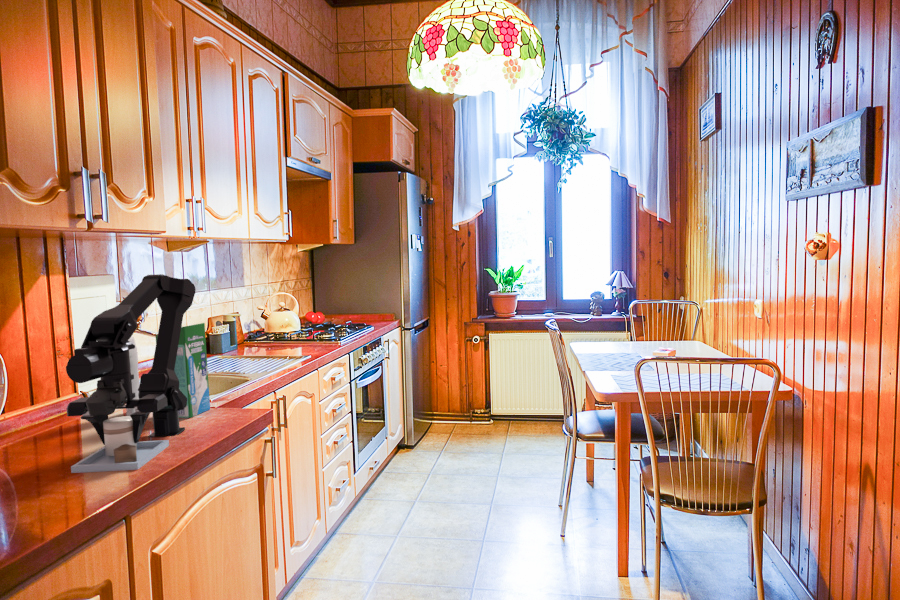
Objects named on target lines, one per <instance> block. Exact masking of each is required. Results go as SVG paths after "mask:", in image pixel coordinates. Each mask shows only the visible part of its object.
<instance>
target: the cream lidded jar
mask: <svg viewBox="0 0 900 600" xmlns="http://www.w3.org/2000/svg"><path fill="white" fill-rule="evenodd" d="M103 431H104V440H105V445H104V446H105V453H106V455H107V456H114V449H116V448H118V447H120V446H121V445H124V444H129V445H134V446H136V450H137V443H134V438H133V420H132V418H131V417H130V416H127V415H125V416H124V415H123V416H115V417H112V418H108V419H107V420H105V421H104V422H103Z"/></svg>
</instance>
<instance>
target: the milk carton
mask: <svg viewBox="0 0 900 600" xmlns="http://www.w3.org/2000/svg"><path fill="white" fill-rule="evenodd" d="M157 337H158V334H156V335H155V343H156V342H157ZM207 356H208V355H207V340H206V326H205V322H202V323H196V324H191V325H185V326H183V325H182V326H181V332H180V338H179V344H178V350H177V356H176V363H175V369H174V371H175V373H176V375H177V377H178V380H179V390H180V391H181V392H182V393H183V394H184V395H185V396H186V398H187V406H186V407H185V408H184V409H183V410H179V411H178V413H179V419H181V418H183V419H191V418H193V417H196V416H198V415H200V414H202V413H203V414H204V413H205V412H208V411H210V410H211V401H210V386H209V373H208V372H209V370H208V357H207Z"/></svg>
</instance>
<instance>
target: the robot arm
mask: <svg viewBox="0 0 900 600" xmlns="http://www.w3.org/2000/svg"><path fill="white" fill-rule="evenodd" d="M195 294H196V286H195V283H193V282H192V281H191V280H190V279H188V278H176V277H173V276H172V277H171V276H169V275H165V274H161V273H159V274H147V275H145V276H143V278H142V280H141V282H140V283H139V284H138V285H136V287H135V288H133V290H132V291H131V292H130V293H129V294H127V296H126V297H125V298H124V299H123V300H122V301H121V302H120V303H118V305H116V306H114V307H111V308H110V309H106V310H104V311H102V312H101V313H99V314H98V315H96V316H95V317H93V319H92V320H91V322H90V325H89V328H88V330H87V333H86V335H85V338H84V340H83V342H82V344H81V347H80V348H75V349H74V350H73V354H74V355H72V356H71V357H70V358H69V359H68V360H67V362H66V363H67V364H66V365H65V371H66V374H67V376H68V378H69V379H70V380H71V381H73V382H74V383H76V384H84V383H86V382H90V381H95V380H97V379H98V380H97V381H96V390H95V391H94V392H92V393H91V394H90V396H88V397H87V396H86V397H80V398H77V399H75V400H73V401H70V402H69V403H68V404H67V406H66V416H67V417H80V419H81V420H85V421H87V422H89V423H90V424H91V425H92V426H93V428H94V430H95V431H96V433H97V434H98V437H99V439H100V441H101V442H102V444H103V445H104V446H105V440H104V431H103V422H104V421H105V420H107V419H109V416H110V415H113V414H114V413H115V411H116V410H120V409H121V410H123V409H124V410H126V409H127V408H135V413H133V414H131V415H130V417H131V418H132V420H133V438H134V443H138V441H140V439H141V435H142V433H143V430H144V427H145V424H146V422H147V420H148V418H149V416H150V414H151V413H152V424H153V425H152V427H153V432H152V433H150V434H148V436H147V437H148V438H157V437H158V438H159V437H174V436H175V437H176V436H178V435H180V434H181V433H182V432H185V430H186V427H183V426H182V427H181V426H180V418H179V413H178V411H179V410H183V409H184V408H185V407H186V406H187V398H186V396H185V395H184V394H183V393H182V392H181V391H180V390H179V380H178V377H177V375H176V373H175V371H174V369H175V363H176V356H177V350H178V344H179V338H180V332H181V326H182V327H183V317H184V315H185V313H186V312H187V311H188V310H189V308H190V307H191V306H192V305H193V302H194V298H195ZM155 300H156V302H157V304H158V306H159V308H160V310H161V315H160V320H159V325H158V331H157V335H158V337H157V342H156V341H155V348H154V355H153V360H152V361H153V362H152V366H151V369H150V370H148V372H147V373H142V374H141V376H140V377H139V384H140V386H139V388H138V391H139V394H138V396H139V399H133V398H135V393H132V383H131V380H132V379H134V374H131V370H130V357H129V350H130V349H134V348H135V345H136V344H135V345H134V344H132V343H130V342H129V341H128V340H129V339H130V338H131V337H133V334H134V333H135V332H136V330H137V328H138V319H140V317H141V316H142V314H143V313H145V311H146V310H147V309H148V308H149V307H150V306H151V305H152V304H153V303H154V302H155Z"/></svg>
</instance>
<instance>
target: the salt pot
mask: <svg viewBox="0 0 900 600" xmlns="http://www.w3.org/2000/svg"><path fill="white" fill-rule="evenodd" d="M114 460H115V463H124V462H136V461H137V456H136V446H134V445H129V444H124V445H121V446H120V447H118V448H116V449H114Z"/></svg>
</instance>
